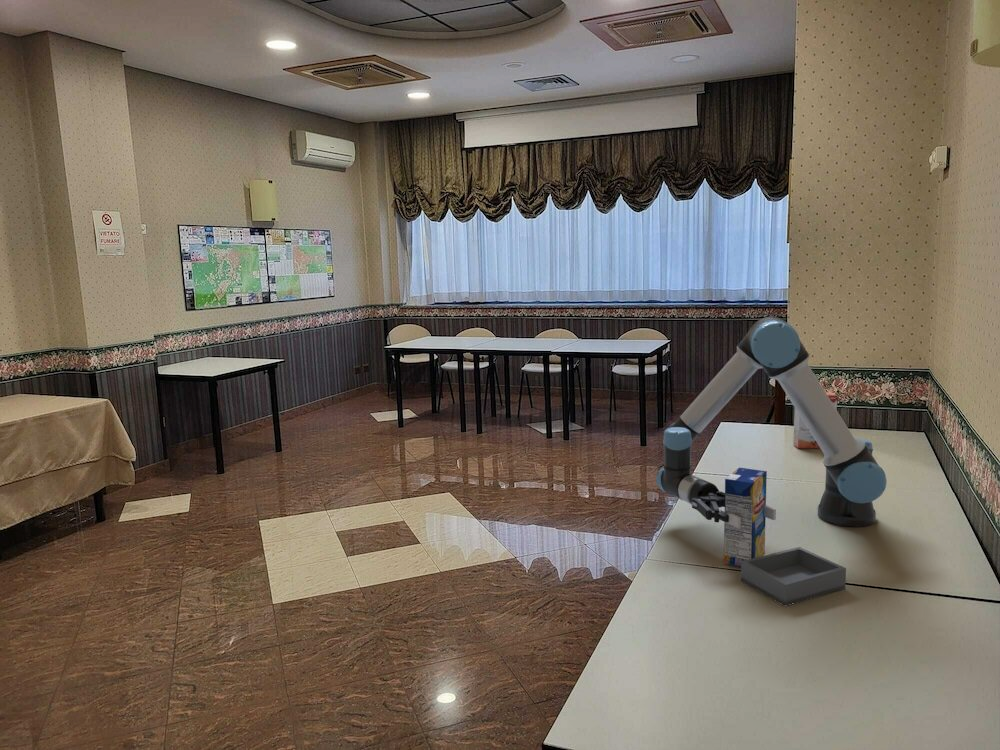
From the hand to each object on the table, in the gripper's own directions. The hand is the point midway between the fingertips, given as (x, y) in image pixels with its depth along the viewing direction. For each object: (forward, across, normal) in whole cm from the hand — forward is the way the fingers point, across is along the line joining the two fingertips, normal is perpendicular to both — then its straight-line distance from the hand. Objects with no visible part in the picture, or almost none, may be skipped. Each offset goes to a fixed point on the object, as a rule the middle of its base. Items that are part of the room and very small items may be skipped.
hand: (757, 518), depth 182 cm
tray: (+12, 0, -12) cm, 17 cm away
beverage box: (-4, 0, -12) cm, 13 cm away
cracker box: (-72, -94, -13) cm, 119 cm away
